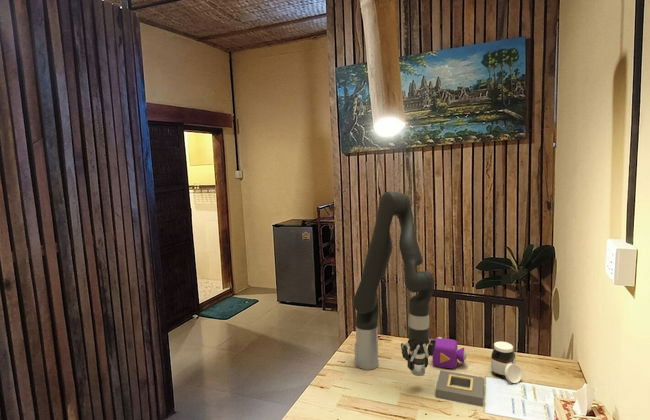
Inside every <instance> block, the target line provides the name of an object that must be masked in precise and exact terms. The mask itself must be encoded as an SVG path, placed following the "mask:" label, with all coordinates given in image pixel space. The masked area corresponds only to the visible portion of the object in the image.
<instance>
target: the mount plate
mask: <svg viewBox="0 0 650 420" xmlns="http://www.w3.org/2000/svg"><path fill="white" fill-rule="evenodd" d="M484 389H485V377H482V376H477V375H470V374H466V373H459V372H453V371H447V370H440V371H439V374H438V377H437V382H436V386H435V389H434V391H435V394H434V395H435V396H434V397H435V398H439V399H444V400H449V401H453V402H454V401H455V402H459V403H462V404H463V403H464V404H469V405H474V406H479V407H484V393H485V391H484Z"/></svg>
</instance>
